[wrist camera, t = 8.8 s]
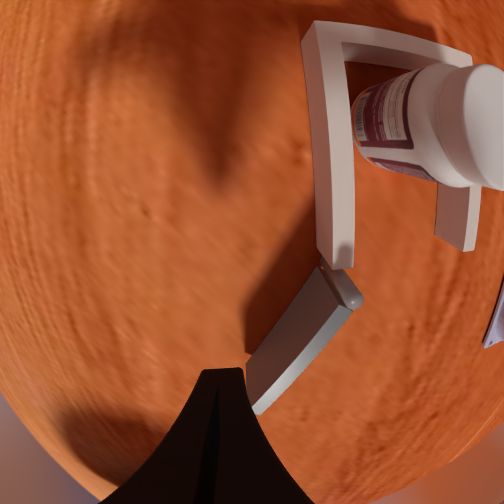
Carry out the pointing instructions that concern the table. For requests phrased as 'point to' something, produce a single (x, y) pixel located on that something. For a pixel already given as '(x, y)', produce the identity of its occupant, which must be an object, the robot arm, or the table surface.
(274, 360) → the channel cover
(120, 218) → the table surface
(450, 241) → the channel
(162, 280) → the table surface
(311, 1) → the table surface
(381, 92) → the pill bottle
